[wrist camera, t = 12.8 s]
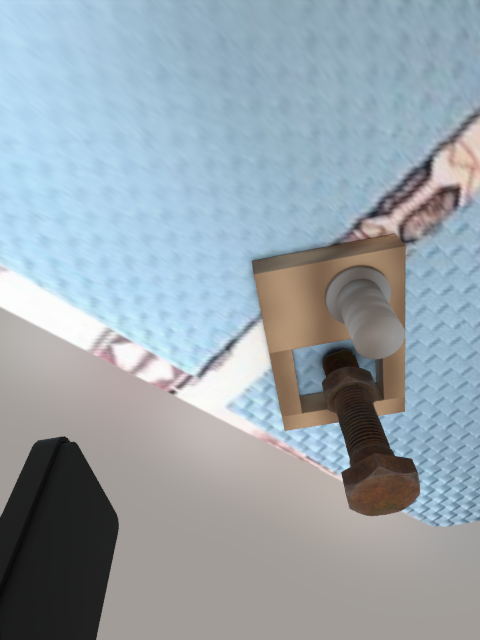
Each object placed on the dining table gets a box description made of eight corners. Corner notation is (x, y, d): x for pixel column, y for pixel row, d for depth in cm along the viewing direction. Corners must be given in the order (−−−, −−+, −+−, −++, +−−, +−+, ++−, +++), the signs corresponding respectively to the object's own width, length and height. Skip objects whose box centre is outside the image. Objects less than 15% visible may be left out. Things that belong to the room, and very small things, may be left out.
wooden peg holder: (395, 233, 38) (439, 285, 30) (396, 394, 47) (429, 464, 40) (252, 261, 39) (259, 318, 31) (282, 413, 48) (293, 485, 41)
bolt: (366, 374, 46) (421, 512, 33) (317, 385, 46) (353, 524, 34) (360, 329, 42) (419, 463, 30) (307, 342, 43) (343, 478, 31)
